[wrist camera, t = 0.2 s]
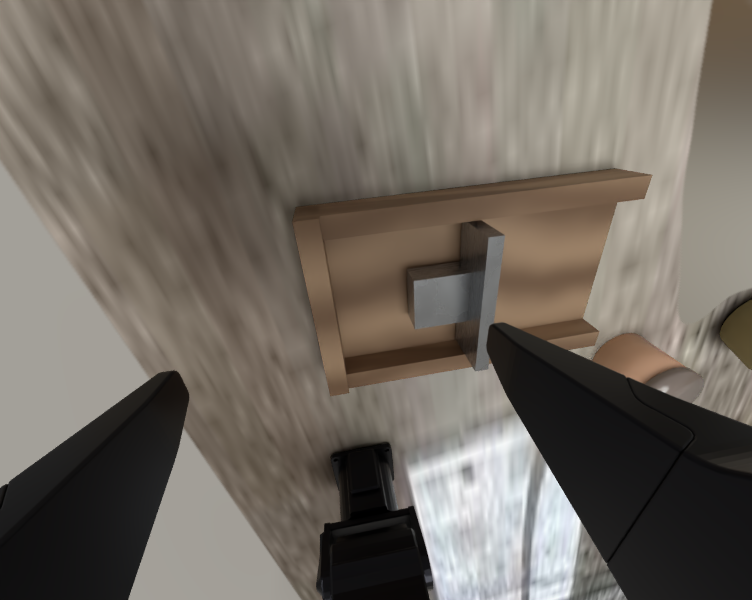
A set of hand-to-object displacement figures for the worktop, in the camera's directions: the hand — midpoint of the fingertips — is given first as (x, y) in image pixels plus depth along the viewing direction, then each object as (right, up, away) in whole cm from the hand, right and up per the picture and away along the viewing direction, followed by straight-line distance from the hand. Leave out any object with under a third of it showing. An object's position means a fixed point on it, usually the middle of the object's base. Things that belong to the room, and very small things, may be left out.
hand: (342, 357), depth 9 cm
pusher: (+6, +3, +15) cm, 16 cm away
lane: (+8, +4, +16) cm, 18 cm away
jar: (+26, -4, +24) cm, 36 cm away
